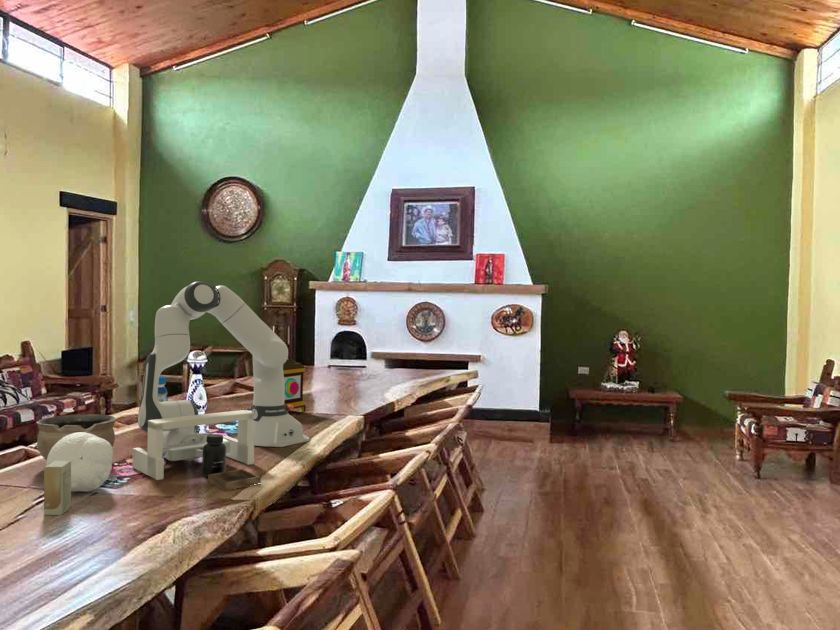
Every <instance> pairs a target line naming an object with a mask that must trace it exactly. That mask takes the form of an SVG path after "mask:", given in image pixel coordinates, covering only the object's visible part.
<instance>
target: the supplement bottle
mask: <svg viewBox="0 0 840 630" xmlns="http://www.w3.org/2000/svg"><path fill="white" fill-rule="evenodd" d="M223 436H224V435H223V434H219V433H216V434H215V433H213V434H211V435H207V440H206V442H207V444H205V445H204V447H203V457H202V458H201V459H202V467H201V475H202V476H203V477H207V478H208V475H210V474H216V473H222V472H226V464H227V463H226V460H227V456H226V446H225V445H224V444H223V443H222V442H223Z"/></svg>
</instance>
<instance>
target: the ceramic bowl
mask: <svg viewBox="0 0 840 630" xmlns="http://www.w3.org/2000/svg"><path fill="white" fill-rule="evenodd" d="M116 421H117V419H116V417H114V416H113V415H108V414H67V415H58V416H52V417H51V416H49V417H46V418H41V419H40V420H38V421H35V422H36V425H37V426H38V428H39V432H38V434H37V438H36V447H37V450H38V452H39V454H40V455H41V456H42V458H44V460H45V461H46V462H47V458H48V455H49V452H50V450H51V449H52V447H53V446H54V445H55V444H56V443H57V442H58V441H59V440H61V439H62V438H63V437H65V436H67V435H70V434H73V433H77V432H86V433H89V434H93V435H95V436H97V437H99V438H102V439H105V440H106V441H108V442H109V443H110V445H111V446H112V448H113V447H114V444H115V442H116V441H115V440H116V434H115V431H114V425H115V423H116Z"/></svg>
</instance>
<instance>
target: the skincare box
mask: <svg viewBox="0 0 840 630" xmlns="http://www.w3.org/2000/svg"><path fill="white" fill-rule="evenodd" d="M43 468H44V469H43V472H44V474H43V515H44V516H62V515H63V514H65V513H66V512H67V511H68V510H70V508H72V491H71V461H53V462H51V463H50V464H48V465H47V464H46V465H45V466H44V467H43Z"/></svg>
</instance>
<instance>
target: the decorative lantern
mask: <svg viewBox="0 0 840 630" xmlns="http://www.w3.org/2000/svg"><path fill="white" fill-rule="evenodd" d="M306 369H307V368H306V366H305V365H304V364H302V363H301V362H297V361H295V360H294V358H293V359H292V358H291V356H288V358H287V360H286V362H285V363H284V364H283V374H284V381H285V393H284V404H286V405H287V406H288V405H293V406H294V408H293V409H292V410H294V409H300V408H301V409H300V410H301V412H302V413H305V412H306V407H307V406H306V403H305V401H304V399H303V398H304V397H303V395H304V394H303V393H304V392H303V391H304V387H303V386H304V373H305V370H306ZM252 404H254V401H252ZM250 412H252V405H251V411H250Z"/></svg>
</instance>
